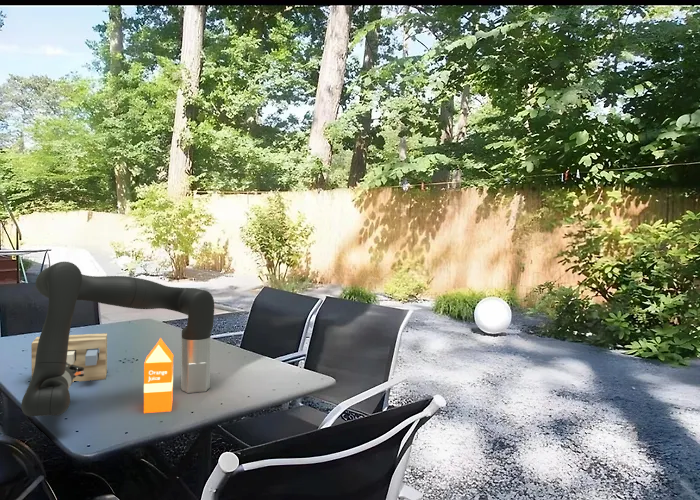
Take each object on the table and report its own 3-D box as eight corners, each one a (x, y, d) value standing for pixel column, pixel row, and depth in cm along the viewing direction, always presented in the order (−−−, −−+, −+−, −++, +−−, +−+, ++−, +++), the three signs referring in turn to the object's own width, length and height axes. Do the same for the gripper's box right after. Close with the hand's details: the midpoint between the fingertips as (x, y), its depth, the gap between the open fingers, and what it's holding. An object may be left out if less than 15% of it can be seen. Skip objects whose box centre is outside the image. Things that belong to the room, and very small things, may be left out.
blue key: (96, 364, 168) (96, 355, 168) (85, 365, 167) (85, 356, 167) (98, 356, 178) (98, 347, 178) (88, 357, 177) (88, 348, 177)
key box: (105, 379, 177) (105, 339, 176) (31, 385, 168) (31, 343, 168) (107, 371, 186) (107, 333, 185) (37, 376, 178) (36, 336, 177)
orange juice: (143, 413, 147) (143, 344, 146) (146, 402, 156) (146, 337, 155) (171, 411, 150) (172, 343, 148) (173, 400, 158) (174, 336, 157)
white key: (73, 364, 168) (73, 354, 168) (62, 365, 167) (62, 355, 167) (76, 355, 178) (76, 346, 178) (66, 356, 177) (66, 347, 177)
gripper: (82, 367, 147) (88, 352, 163) (29, 370, 142) (40, 355, 158) (82, 392, 147) (88, 375, 163) (29, 397, 142) (40, 379, 158)
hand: (64, 365), depth 161 cm, fingers closed
